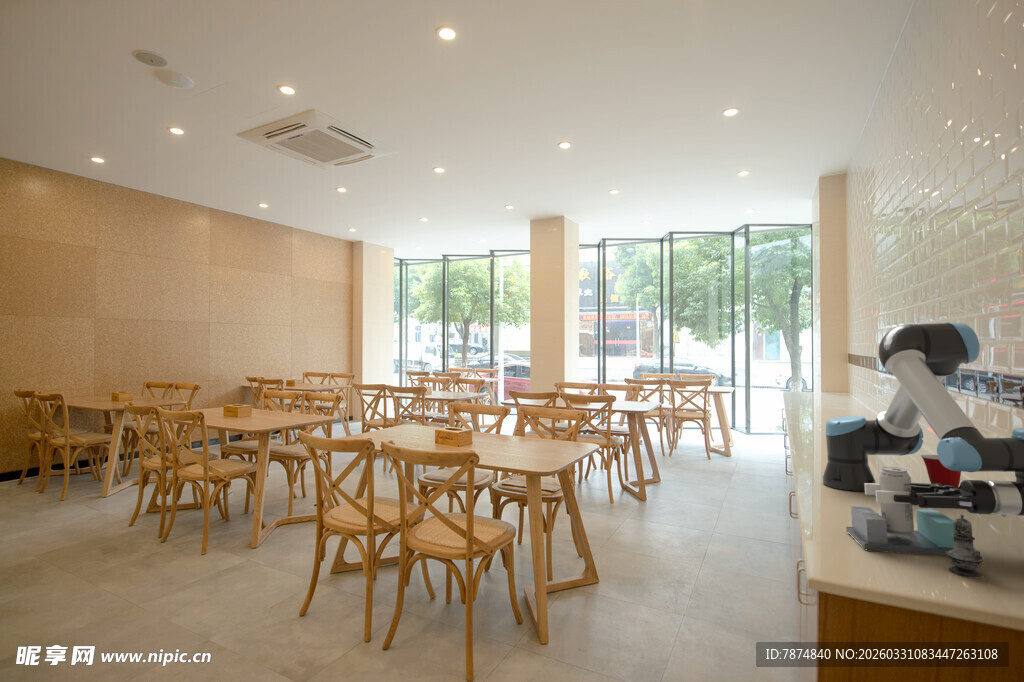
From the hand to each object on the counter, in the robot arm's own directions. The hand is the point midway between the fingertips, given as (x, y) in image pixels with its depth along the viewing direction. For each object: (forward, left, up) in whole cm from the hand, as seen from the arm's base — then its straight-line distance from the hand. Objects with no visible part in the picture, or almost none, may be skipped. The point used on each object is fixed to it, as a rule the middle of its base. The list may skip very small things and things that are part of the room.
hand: (870, 492), depth 121 cm
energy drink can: (0, +5, -9) cm, 11 cm away
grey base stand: (0, +7, -12) cm, 14 cm away
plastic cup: (-51, +37, -12) cm, 64 cm away
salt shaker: (+15, +11, -12) cm, 22 cm away
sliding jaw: (0, +13, -10) cm, 17 cm away
